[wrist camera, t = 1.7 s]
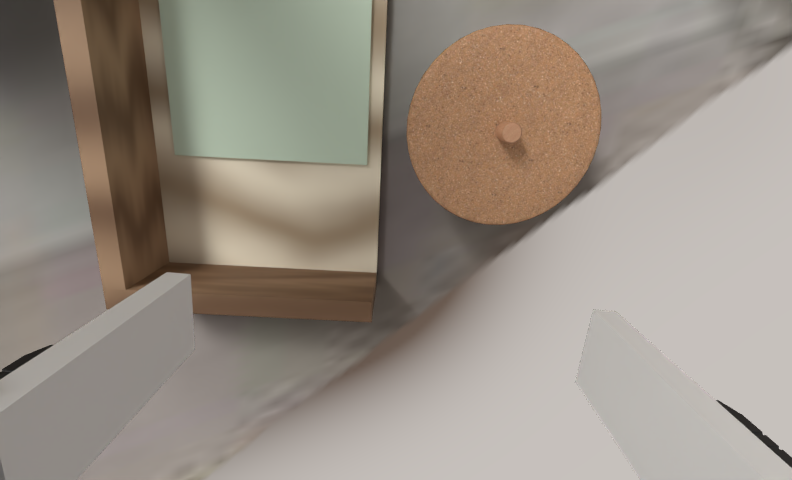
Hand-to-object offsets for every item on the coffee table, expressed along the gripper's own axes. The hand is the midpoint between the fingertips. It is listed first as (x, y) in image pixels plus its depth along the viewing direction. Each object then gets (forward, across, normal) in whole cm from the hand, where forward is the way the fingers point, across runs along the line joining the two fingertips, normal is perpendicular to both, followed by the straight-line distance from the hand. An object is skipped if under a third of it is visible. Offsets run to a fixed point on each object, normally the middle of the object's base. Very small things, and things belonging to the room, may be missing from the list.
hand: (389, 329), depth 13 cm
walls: (+19, -11, +6) cm, 22 cm away
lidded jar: (+19, +5, +7) cm, 21 cm away
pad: (+19, -10, +10) cm, 23 cm away
